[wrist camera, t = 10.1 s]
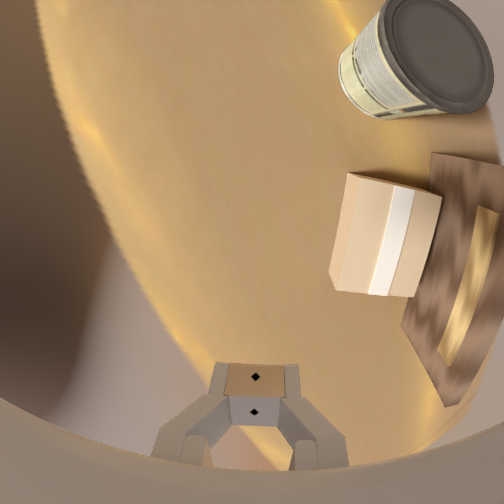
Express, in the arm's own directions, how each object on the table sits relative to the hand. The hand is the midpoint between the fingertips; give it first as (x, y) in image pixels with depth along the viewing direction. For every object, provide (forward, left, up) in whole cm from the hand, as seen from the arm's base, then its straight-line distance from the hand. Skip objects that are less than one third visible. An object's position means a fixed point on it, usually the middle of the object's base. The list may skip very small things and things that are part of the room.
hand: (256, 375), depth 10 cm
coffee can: (-17, +13, -24) cm, 32 cm away
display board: (+3, +23, -24) cm, 33 cm away
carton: (+1, +13, -24) cm, 28 cm away
